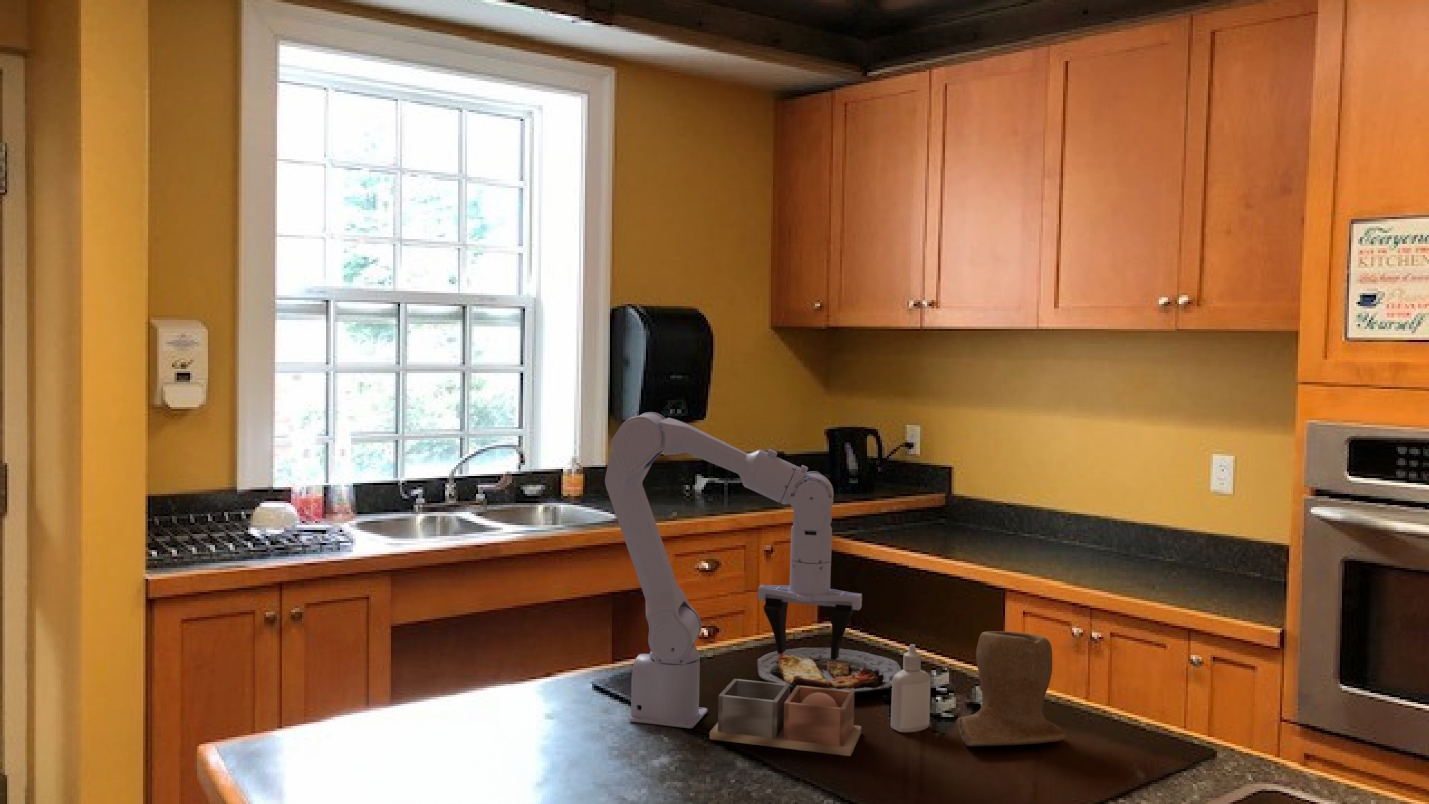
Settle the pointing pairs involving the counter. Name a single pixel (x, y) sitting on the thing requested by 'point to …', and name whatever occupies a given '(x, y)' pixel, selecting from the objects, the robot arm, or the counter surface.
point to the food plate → (804, 671)
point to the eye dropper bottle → (910, 695)
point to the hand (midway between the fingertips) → (807, 654)
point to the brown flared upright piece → (1011, 692)
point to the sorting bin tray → (786, 718)
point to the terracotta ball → (820, 700)
